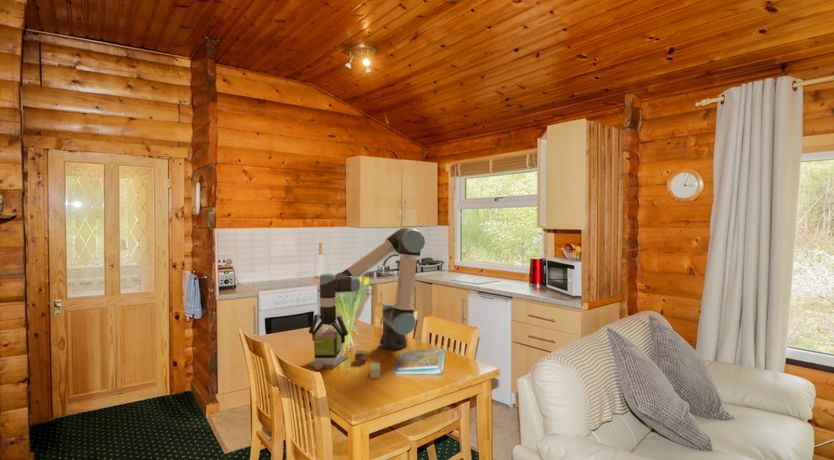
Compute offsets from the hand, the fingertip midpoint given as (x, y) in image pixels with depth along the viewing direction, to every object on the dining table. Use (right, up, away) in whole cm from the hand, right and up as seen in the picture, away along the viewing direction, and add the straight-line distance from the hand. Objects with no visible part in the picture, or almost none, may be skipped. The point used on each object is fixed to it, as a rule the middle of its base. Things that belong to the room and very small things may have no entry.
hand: (328, 348), depth 226 cm
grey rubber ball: (-3, -5, -10) cm, 12 cm away
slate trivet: (0, -7, 0) cm, 7 cm away
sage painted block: (+24, -8, -16) cm, 30 cm away
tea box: (0, -6, 0) cm, 6 cm away
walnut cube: (+16, -7, +1) cm, 17 cm away
